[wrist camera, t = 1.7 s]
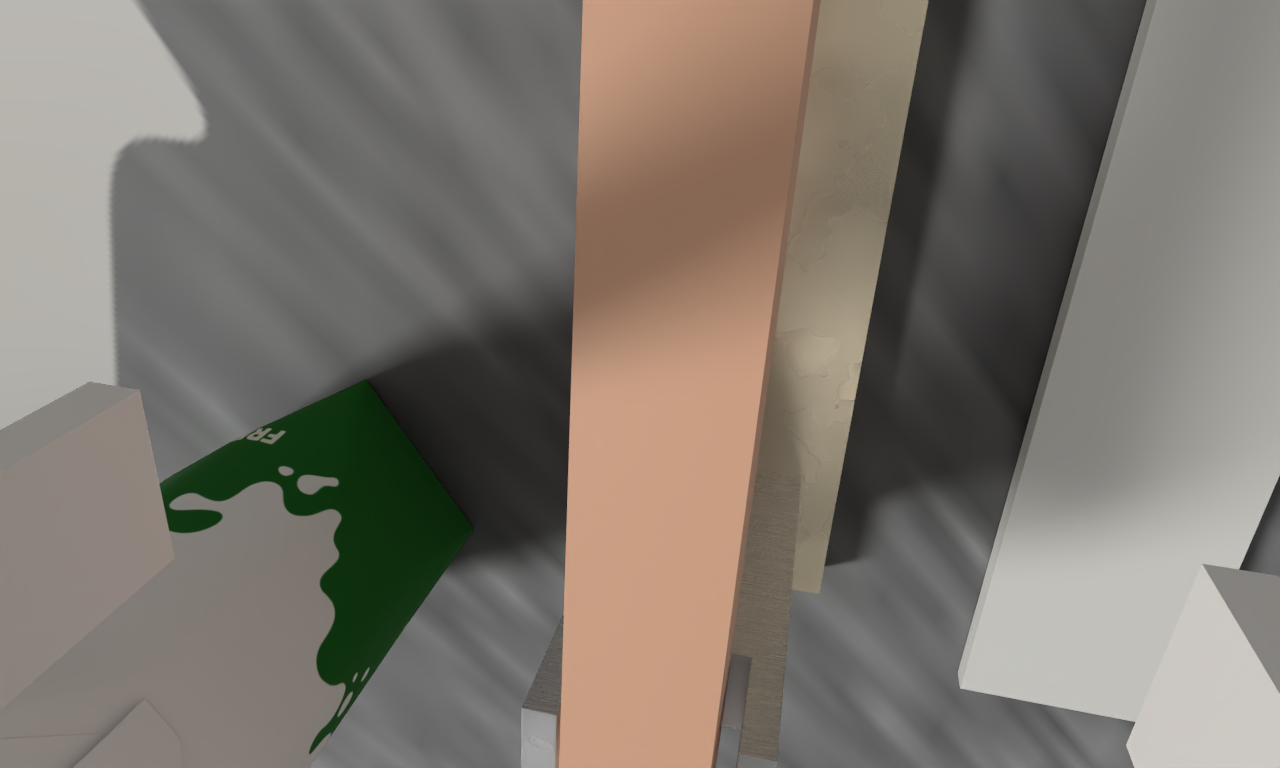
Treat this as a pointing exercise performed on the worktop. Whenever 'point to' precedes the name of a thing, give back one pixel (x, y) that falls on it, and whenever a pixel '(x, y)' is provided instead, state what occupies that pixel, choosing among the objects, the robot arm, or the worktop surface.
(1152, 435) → the mat
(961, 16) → the worktop surface
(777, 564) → the hook stand
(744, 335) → the rail
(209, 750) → the milk carton
